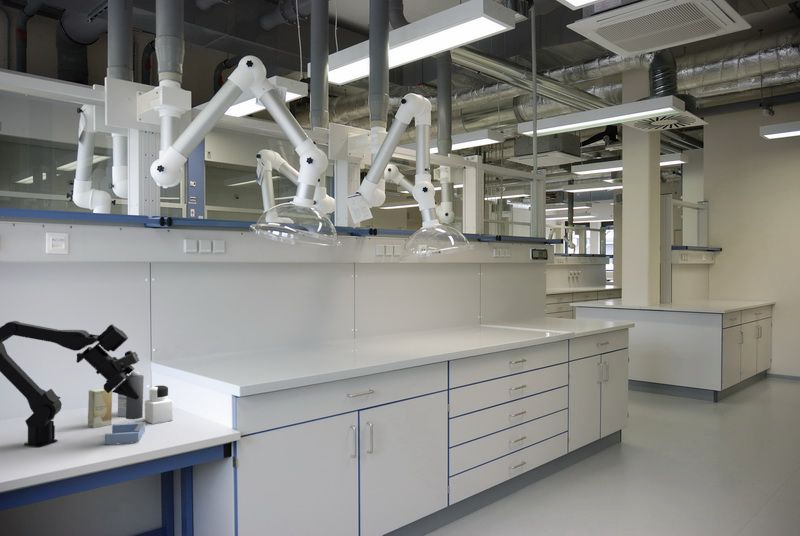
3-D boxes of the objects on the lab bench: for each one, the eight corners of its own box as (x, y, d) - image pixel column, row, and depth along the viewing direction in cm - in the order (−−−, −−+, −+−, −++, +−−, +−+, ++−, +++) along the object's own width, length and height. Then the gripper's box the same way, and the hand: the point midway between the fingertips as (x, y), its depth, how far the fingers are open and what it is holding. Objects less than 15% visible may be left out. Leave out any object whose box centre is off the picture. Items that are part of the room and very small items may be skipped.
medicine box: (130, 411, 220) (130, 388, 220) (141, 412, 219) (141, 388, 219) (117, 417, 212) (117, 392, 212) (128, 417, 212) (128, 393, 211)
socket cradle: (104, 444, 179) (104, 434, 179) (113, 433, 191) (113, 423, 191) (138, 442, 182) (138, 431, 182) (144, 431, 194) (144, 421, 194)
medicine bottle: (164, 416, 212) (164, 383, 212) (173, 420, 207) (173, 386, 207) (144, 420, 207) (144, 386, 207) (152, 424, 202) (152, 389, 202)
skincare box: (93, 428, 197) (93, 391, 197) (87, 426, 200) (87, 390, 200) (112, 424, 202) (112, 388, 202) (106, 422, 205) (106, 387, 205)
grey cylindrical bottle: (134, 420, 184) (135, 374, 184) (122, 418, 186) (123, 373, 186) (145, 416, 188) (147, 372, 188) (134, 414, 190) (135, 370, 190)
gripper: (116, 347, 177) (155, 383, 180) (128, 340, 195) (163, 373, 198) (86, 374, 175) (126, 410, 178) (101, 364, 193) (136, 397, 196)
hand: (139, 396), depth 187 cm, fingers closed on grey cylindrical bottle, 5 cm apart
